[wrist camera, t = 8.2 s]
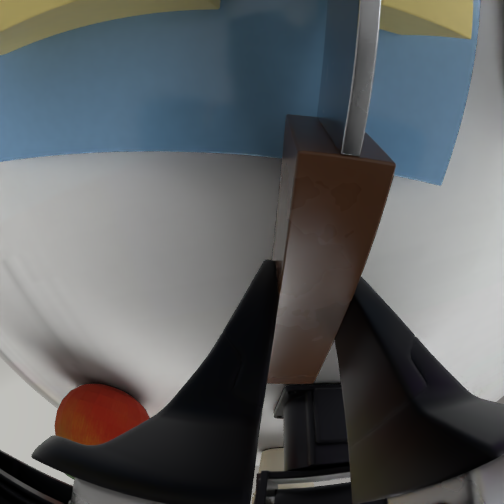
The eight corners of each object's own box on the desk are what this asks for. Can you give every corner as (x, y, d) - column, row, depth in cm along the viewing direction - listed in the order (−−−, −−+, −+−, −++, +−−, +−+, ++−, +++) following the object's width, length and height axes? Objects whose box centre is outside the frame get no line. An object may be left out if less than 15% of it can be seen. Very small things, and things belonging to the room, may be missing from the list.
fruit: (166, 420, 27) (153, 503, 19) (85, 398, 26) (64, 475, 18) (159, 386, 21) (138, 502, 13) (57, 357, 20) (23, 457, 12)
